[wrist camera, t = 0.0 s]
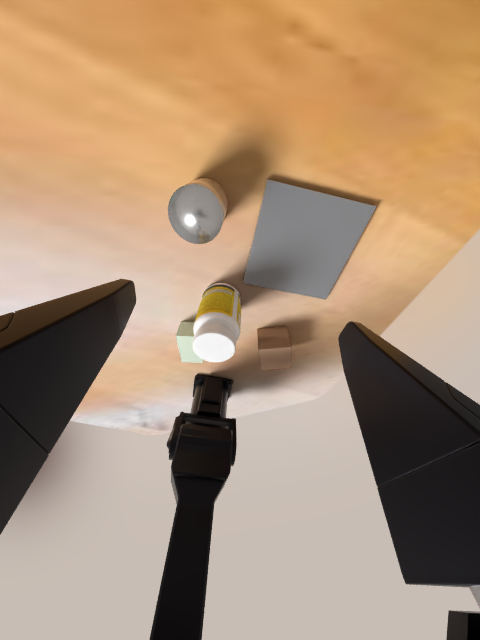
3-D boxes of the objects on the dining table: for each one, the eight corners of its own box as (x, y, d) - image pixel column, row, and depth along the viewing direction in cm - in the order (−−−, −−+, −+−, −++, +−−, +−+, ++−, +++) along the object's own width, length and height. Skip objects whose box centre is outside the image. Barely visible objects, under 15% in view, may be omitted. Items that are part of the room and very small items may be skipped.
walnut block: (287, 346, 31) (291, 368, 28) (260, 348, 31) (261, 370, 28) (286, 325, 28) (291, 347, 25) (257, 328, 29) (258, 349, 26)
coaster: (324, 296, 25) (325, 299, 25) (243, 280, 24) (243, 283, 24) (373, 205, 19) (376, 206, 19) (267, 178, 18) (267, 179, 18)
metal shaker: (224, 230, 21) (218, 248, 17) (183, 222, 20) (168, 238, 16) (231, 184, 18) (226, 192, 14) (185, 173, 18) (167, 178, 14)
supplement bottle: (195, 295, 26) (176, 344, 19) (224, 274, 24) (215, 320, 17) (220, 319, 28) (211, 371, 21) (249, 302, 26) (249, 353, 19)
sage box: (206, 347, 32) (203, 362, 29) (186, 346, 32) (181, 362, 29) (203, 321, 28) (199, 336, 26) (181, 320, 28) (175, 335, 26)
